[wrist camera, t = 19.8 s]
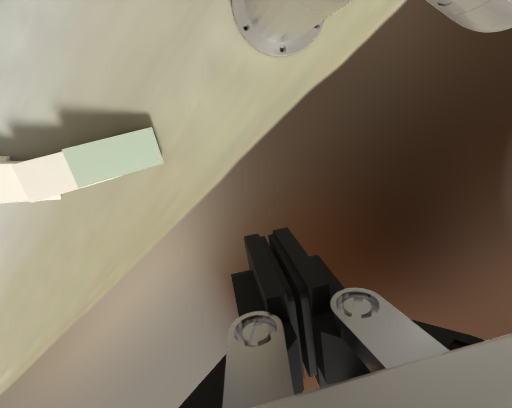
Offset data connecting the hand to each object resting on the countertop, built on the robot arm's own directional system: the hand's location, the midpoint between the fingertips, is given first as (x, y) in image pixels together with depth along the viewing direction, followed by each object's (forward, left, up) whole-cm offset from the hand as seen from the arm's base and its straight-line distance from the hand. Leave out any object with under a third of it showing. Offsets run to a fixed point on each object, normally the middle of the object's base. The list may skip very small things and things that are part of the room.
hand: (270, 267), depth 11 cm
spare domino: (-1, -8, -34) cm, 35 cm away
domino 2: (0, -14, -34) cm, 37 cm away
